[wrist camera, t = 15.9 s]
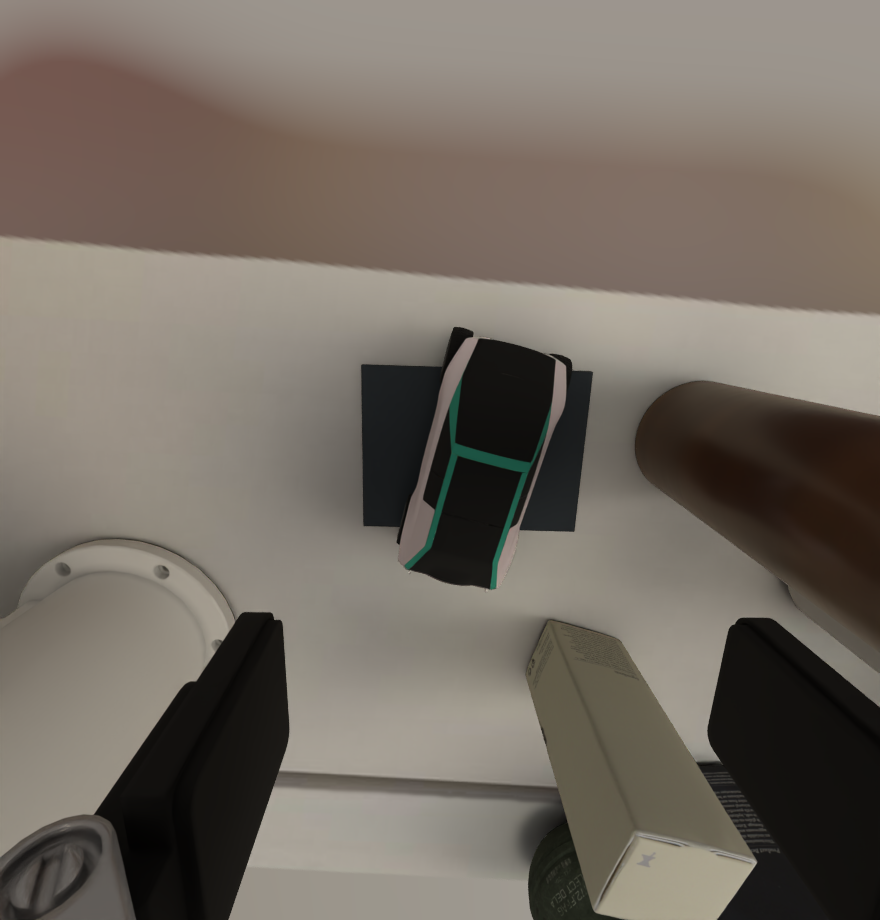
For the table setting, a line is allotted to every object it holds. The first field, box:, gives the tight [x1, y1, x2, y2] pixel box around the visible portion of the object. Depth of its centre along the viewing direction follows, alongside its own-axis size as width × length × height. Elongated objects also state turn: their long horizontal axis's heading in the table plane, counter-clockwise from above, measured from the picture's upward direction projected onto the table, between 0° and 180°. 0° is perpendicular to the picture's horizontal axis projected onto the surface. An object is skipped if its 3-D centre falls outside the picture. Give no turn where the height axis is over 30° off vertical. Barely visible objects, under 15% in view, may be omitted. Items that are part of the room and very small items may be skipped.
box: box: [526, 620, 757, 920], centre depth 24 cm, size 5×4×13 cm
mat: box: [361, 364, 593, 532], centre depth 26 cm, size 12×9×1 cm
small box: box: [698, 765, 829, 920], centre depth 28 cm, size 11×6×10 cm, turn 3°
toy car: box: [397, 327, 572, 592], centre depth 23 cm, size 6×12×5 cm, turn 165°
